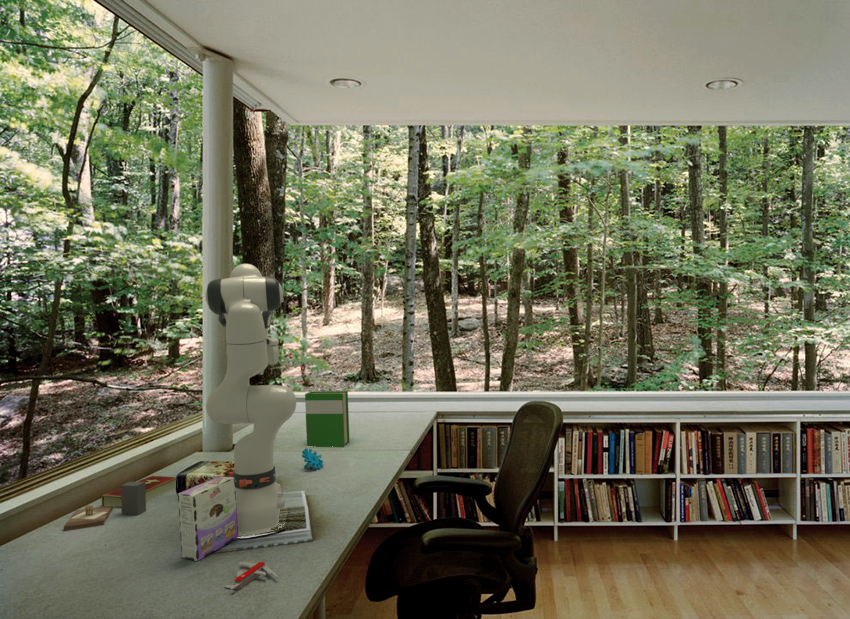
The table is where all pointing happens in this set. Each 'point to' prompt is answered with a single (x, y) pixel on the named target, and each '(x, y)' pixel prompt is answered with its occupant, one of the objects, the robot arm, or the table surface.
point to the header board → (88, 517)
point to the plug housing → (133, 498)
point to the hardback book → (327, 418)
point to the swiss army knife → (250, 574)
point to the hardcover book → (152, 489)
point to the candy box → (207, 517)
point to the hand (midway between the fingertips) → (249, 371)
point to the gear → (312, 459)
